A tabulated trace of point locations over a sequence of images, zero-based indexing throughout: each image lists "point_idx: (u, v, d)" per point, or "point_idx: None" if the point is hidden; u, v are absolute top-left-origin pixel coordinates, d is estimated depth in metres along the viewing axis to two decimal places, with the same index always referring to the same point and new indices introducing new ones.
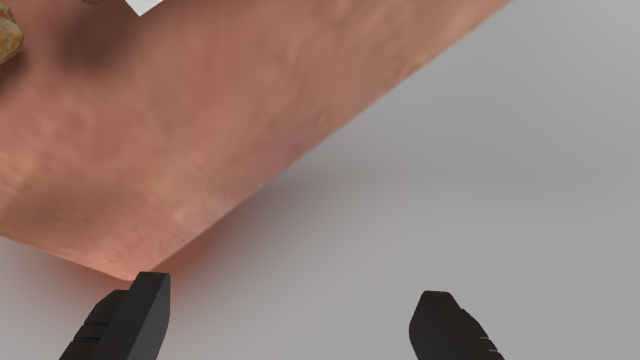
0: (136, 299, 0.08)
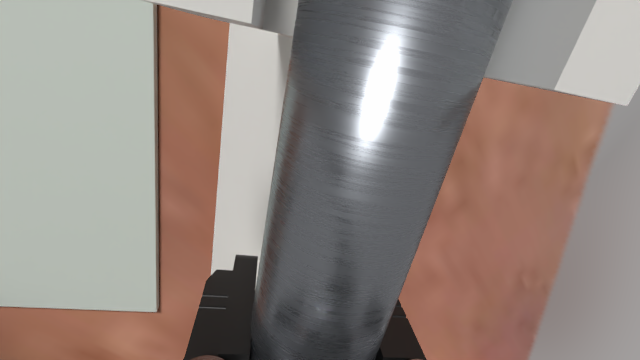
0: (241, 276, 0.09)
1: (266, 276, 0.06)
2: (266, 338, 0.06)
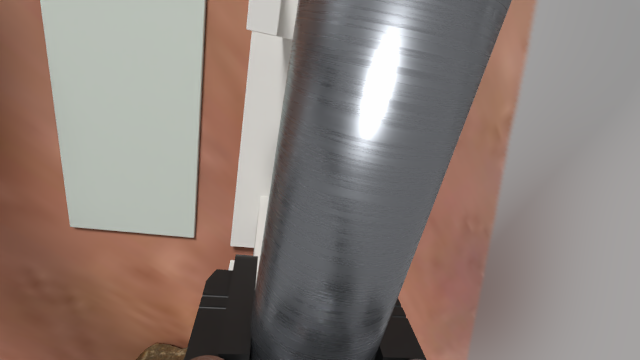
0: (242, 276, 0.09)
1: (266, 275, 0.06)
2: (266, 337, 0.07)
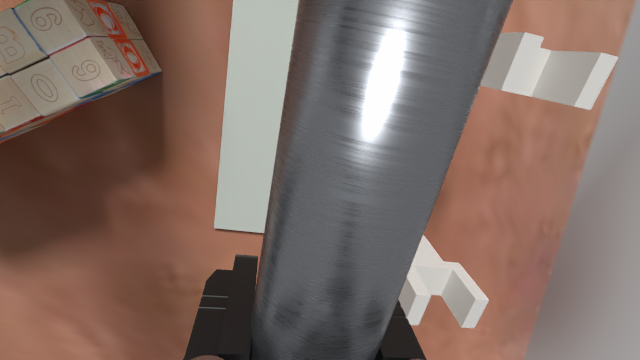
0: (242, 276, 0.09)
1: (266, 277, 0.06)
2: (266, 339, 0.06)
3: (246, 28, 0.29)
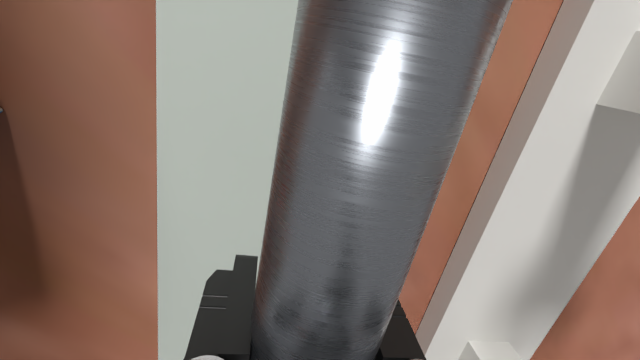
0: (242, 276, 0.09)
1: (266, 278, 0.06)
2: (266, 339, 0.07)
3: (196, 5, 0.11)
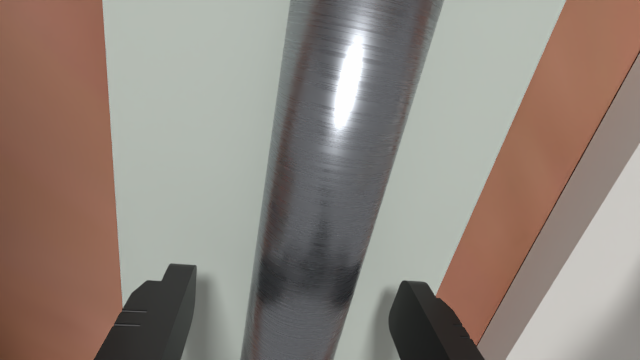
0: (169, 288, 0.08)
1: (265, 220, 0.08)
2: (265, 270, 0.08)
3: None
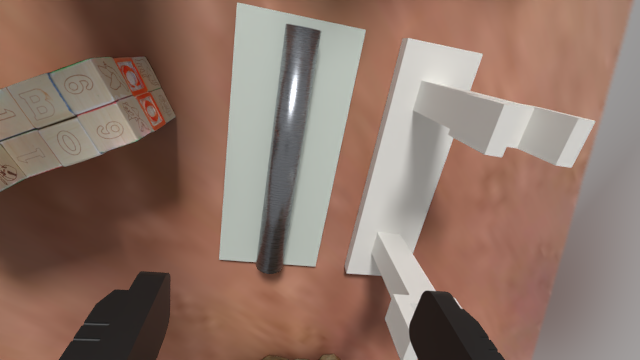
0: (136, 299, 0.08)
1: (273, 135, 0.31)
2: (273, 149, 0.31)
3: (246, 76, 0.30)
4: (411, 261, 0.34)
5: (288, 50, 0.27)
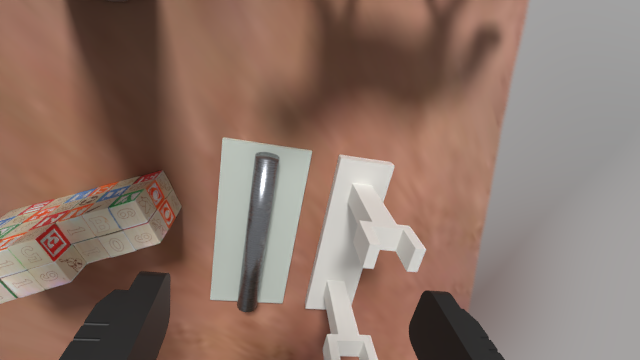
0: (136, 299, 0.08)
1: (248, 221, 0.44)
2: (248, 231, 0.44)
3: (229, 182, 0.44)
4: (346, 306, 0.48)
5: (256, 172, 0.41)
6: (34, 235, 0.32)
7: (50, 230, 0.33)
